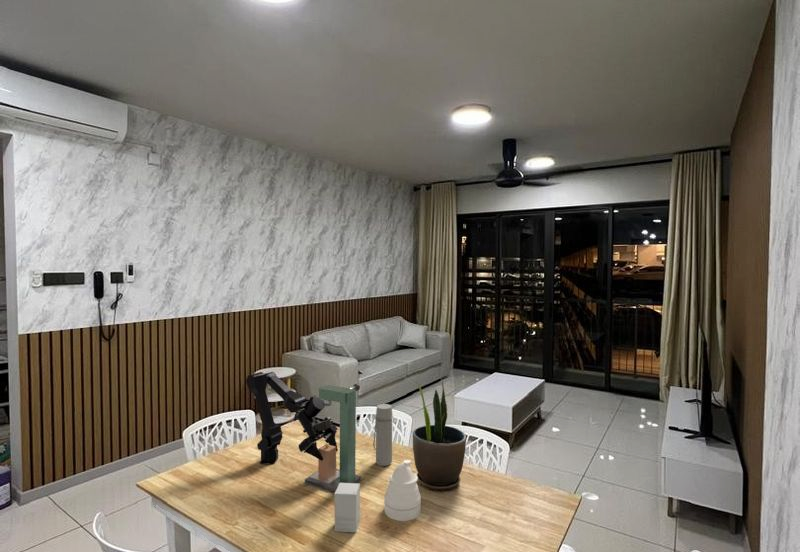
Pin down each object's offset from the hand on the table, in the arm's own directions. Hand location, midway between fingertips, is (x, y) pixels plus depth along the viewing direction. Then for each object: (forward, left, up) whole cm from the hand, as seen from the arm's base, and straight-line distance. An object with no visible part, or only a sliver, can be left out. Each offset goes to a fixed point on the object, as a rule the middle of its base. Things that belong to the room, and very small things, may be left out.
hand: (330, 455), depth 170 cm
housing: (-1, +1, -8) cm, 8 cm away
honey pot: (+30, -19, -10) cm, 37 cm away
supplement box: (+12, -29, -10) cm, 33 cm away
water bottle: (+20, +17, -10) cm, 28 cm away
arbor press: (+3, +2, -10) cm, 11 cm away
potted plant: (+44, +2, -10) cm, 45 cm away
